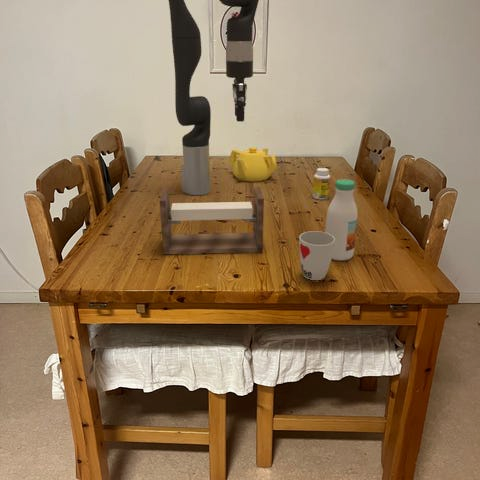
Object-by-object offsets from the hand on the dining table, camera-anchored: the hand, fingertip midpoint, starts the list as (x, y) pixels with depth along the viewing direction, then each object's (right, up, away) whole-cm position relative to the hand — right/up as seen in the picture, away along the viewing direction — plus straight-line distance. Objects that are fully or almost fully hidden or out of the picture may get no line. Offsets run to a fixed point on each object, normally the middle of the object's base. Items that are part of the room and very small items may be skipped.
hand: (239, 118), depth 135 cm
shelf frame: (-7, -37, -9) cm, 39 cm away
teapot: (+5, -10, +51) cm, 52 cm away
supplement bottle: (+29, -21, +28) cm, 45 cm away
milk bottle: (+26, -39, -13) cm, 49 cm away
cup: (+18, -44, -24) cm, 53 cm away
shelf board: (-7, -29, -12) cm, 32 cm away
